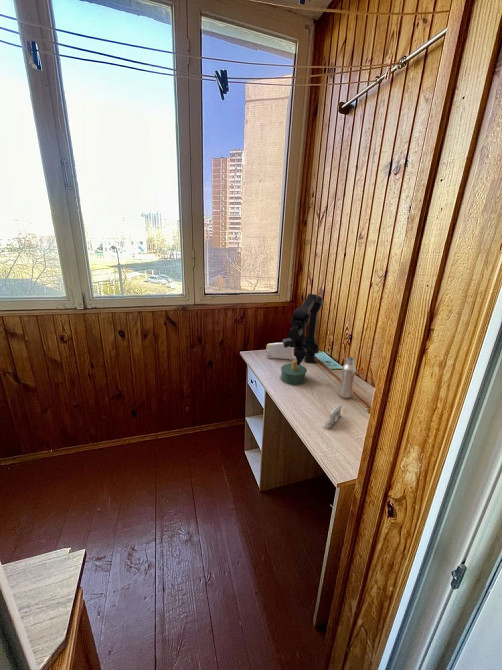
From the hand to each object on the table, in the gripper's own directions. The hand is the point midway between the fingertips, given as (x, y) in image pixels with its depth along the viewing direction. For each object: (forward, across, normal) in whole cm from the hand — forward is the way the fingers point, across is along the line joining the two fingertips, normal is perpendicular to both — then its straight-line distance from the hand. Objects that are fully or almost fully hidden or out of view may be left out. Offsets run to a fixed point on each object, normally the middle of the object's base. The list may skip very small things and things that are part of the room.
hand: (297, 361), depth 156 cm
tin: (+9, +3, -2) cm, 10 cm away
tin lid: (+4, +2, -2) cm, 5 cm away
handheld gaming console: (+10, -23, -9) cm, 27 cm away
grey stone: (+9, +39, +12) cm, 42 cm away
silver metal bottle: (+10, +18, +22) cm, 30 cm away
